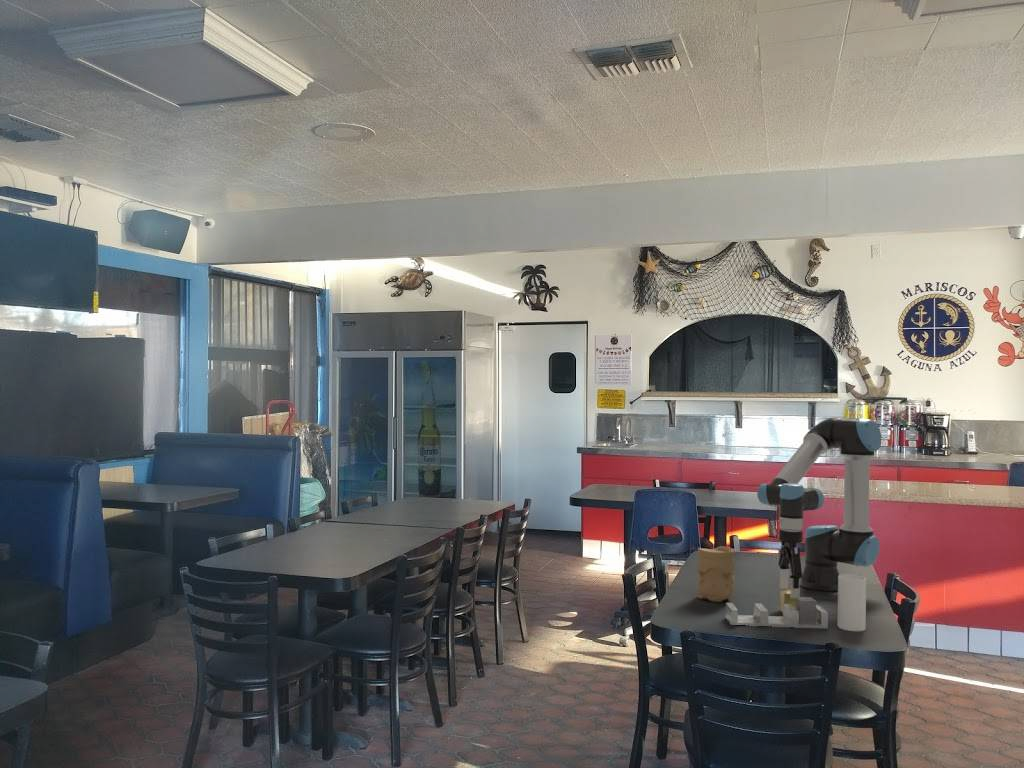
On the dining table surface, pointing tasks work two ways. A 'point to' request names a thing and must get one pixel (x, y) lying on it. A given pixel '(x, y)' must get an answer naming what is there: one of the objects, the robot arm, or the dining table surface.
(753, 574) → the dining table surface
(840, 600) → the cup
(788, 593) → the tan wooden cube
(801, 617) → the white slotted rack
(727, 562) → the container
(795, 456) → the robot arm
